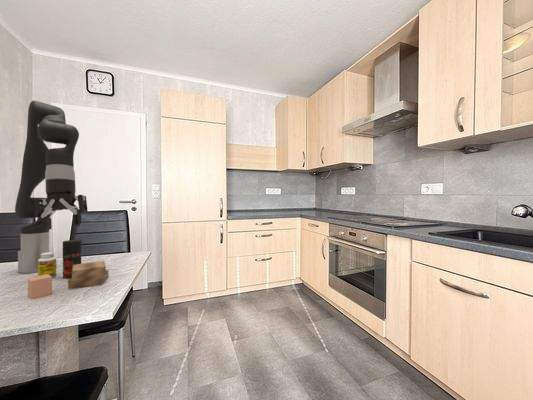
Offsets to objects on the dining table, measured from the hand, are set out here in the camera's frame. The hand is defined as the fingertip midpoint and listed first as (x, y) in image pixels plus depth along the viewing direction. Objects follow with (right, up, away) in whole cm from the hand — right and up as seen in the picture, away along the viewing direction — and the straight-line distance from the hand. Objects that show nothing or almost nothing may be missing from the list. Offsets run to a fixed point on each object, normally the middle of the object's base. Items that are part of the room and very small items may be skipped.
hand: (62, 227), depth 77 cm
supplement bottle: (-23, -23, +19) cm, 37 cm away
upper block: (-2, -20, +14) cm, 24 cm away
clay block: (-9, -23, +2) cm, 25 cm away
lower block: (-1, -23, +14) cm, 27 cm away
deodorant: (-14, -23, +20) cm, 34 cm away
